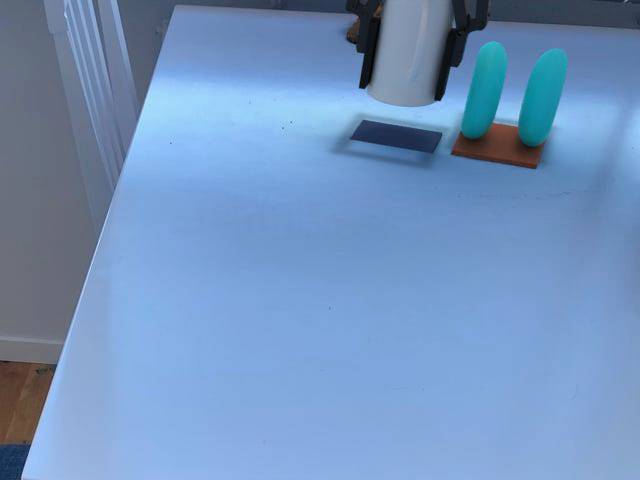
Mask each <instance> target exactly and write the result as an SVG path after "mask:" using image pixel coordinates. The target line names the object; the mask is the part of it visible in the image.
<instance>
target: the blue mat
mask: <svg viewBox="0 0 640 480" xmlns="http://www.w3.org/2000/svg"><path fill="white" fill-rule="evenodd" d="M442 137H443V131H442V132H441V131H435V130H429V129H424V128H423V129H422V128H417V127H411V126H405V125H398V124H394V123H393V124H392V123H386V122H380V121H375V120H368V119H362V120H361V122H360V123H359V124H358V126H357V127H356V129H355V130H354V132H353V133H352V134H351V136H350V138H349V140H351V141H356V142H362V143H366V144H367V143H368V144H374V145H379V146H384V147H385V146H386V147H390V148H397V149H403V150H409V151H415V152H421V153H427V154H434V152H435V150H436V148H437V147H438V145H439V143H440V142H441V139H442Z"/></svg>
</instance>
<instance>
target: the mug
mask: <svg viewBox="0 0 640 480" xmlns="http://www.w3.org/2000/svg"><path fill="white" fill-rule="evenodd" d="M382 2H383V8H382V14H381V20H380V26H379V32H378V38H377V44H376V50H375V56H374V62H373V67H372V73H371V77H370V81H369V84H368V86H367V87H366V93H367V95H368V96H369V97H371V99H373V100H375V101H377V102H379V103H382V104H386V105H390V106H395V107H403V108H421V107H427V106H430V105H433V104H435V103H437V102H438V101H434V97H435V93H436V88H437V84H438V79H439V74H440V70H441V65H442V61H443V56H444V52H445V47H446V43H447V38H448V34H449V33H450V31H451V30H452V28H455V27H454V26H455V18H454V11H453V4H452V0H383V1H382Z"/></svg>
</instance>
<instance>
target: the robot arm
mask: <svg viewBox="0 0 640 480" xmlns="http://www.w3.org/2000/svg"><path fill="white" fill-rule="evenodd" d="M381 2H383V0H346V2H345V10H346V12H347V13H352V14H354V15H355V16H357V17H358V18H359V19H360V26H359V32H358V38H357V43H356V44H355V49H356V53H359V54H363V58H362V60H363V61H362V64H361V70H360V77H359V82H358V89H359V90H366V89H367V86H368V84H369V81H370V77H371V73H372V67H373V62H374V56H375V50H376V44H377V38H378V32H379V26H380V20H381V18H380V17H374V14H375V12H376V10H377V9H378V7H379V5H380V3H381ZM452 4H453V11H454V18H455V22H454V25H455V27H453V28H452V30H451V31H450V33H449V34H448V38H447V43H446V47H445V52H444V56H443V61H442V65H441V70H440V74H439V79H438V84H437V88H436V93H435V97H434V101H437V102H442V99H443V98H444V96H445V94H446V90H447V85H448V81H449V76H450V72H451V68H459V66H460V64H461V63H462V61H463V59H464V55H465V50H466V47H467V43H468V38H469V35H470V34H471V33H473V32H478V31H479V32H481V31H483V30H484V29H486V27H487V25H488V24H489V22H490V20H491V11H492V0H476V6H475V14H473V15H472V13H471V7H470V1H469V0H452Z"/></svg>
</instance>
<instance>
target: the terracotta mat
mask: <svg viewBox="0 0 640 480" xmlns="http://www.w3.org/2000/svg"><path fill="white" fill-rule="evenodd" d="M546 140H547V138H546V139H545V140H544V142H543V143H541V144H540V145H538V146H535V147H529V146H527V145H525V144H524V143H523V142H522V141H521V139H520V136H519V132H518V125H517V126H516V125H510V124H505V123H498V122H493V123H492V125H491V126H490V128H489V129H488V130H487V132H486V133H485V134H483V135H482V136H481V137H479V138H477V139H468V138H466V137H465V136H464V135H463V133H462V131H461V130H460V132H459V134H458V136H457V138H456V141H455V143H454V145H453V147H452V149H451V152H450V155H453V156H460V157H465V158H470V159H476V160H482V161H488V162H494V163H501V164H505V165H506V164H507V165H512V166H519V167H524V168H530V169H535V170H536V169H537V168H538V165H539V162H540V159H541V157H542V153H543V150H544V146H545V143H546Z"/></svg>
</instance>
